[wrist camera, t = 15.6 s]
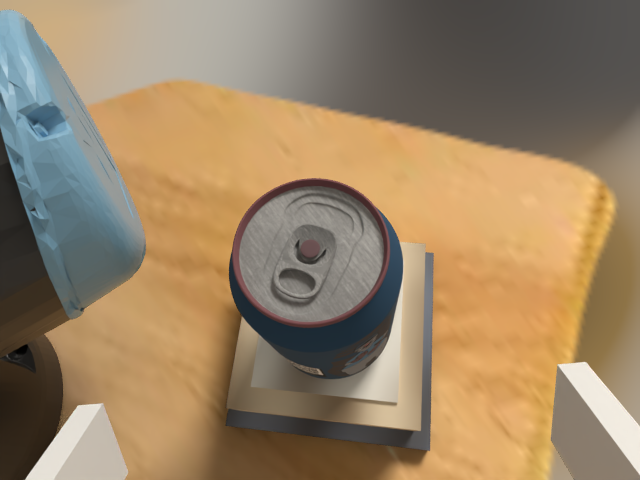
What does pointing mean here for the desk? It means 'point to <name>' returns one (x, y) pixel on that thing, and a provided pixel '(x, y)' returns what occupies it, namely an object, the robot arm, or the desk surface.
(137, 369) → the desk surface
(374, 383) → the beige square box
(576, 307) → the desk surface
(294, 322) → the soda can
